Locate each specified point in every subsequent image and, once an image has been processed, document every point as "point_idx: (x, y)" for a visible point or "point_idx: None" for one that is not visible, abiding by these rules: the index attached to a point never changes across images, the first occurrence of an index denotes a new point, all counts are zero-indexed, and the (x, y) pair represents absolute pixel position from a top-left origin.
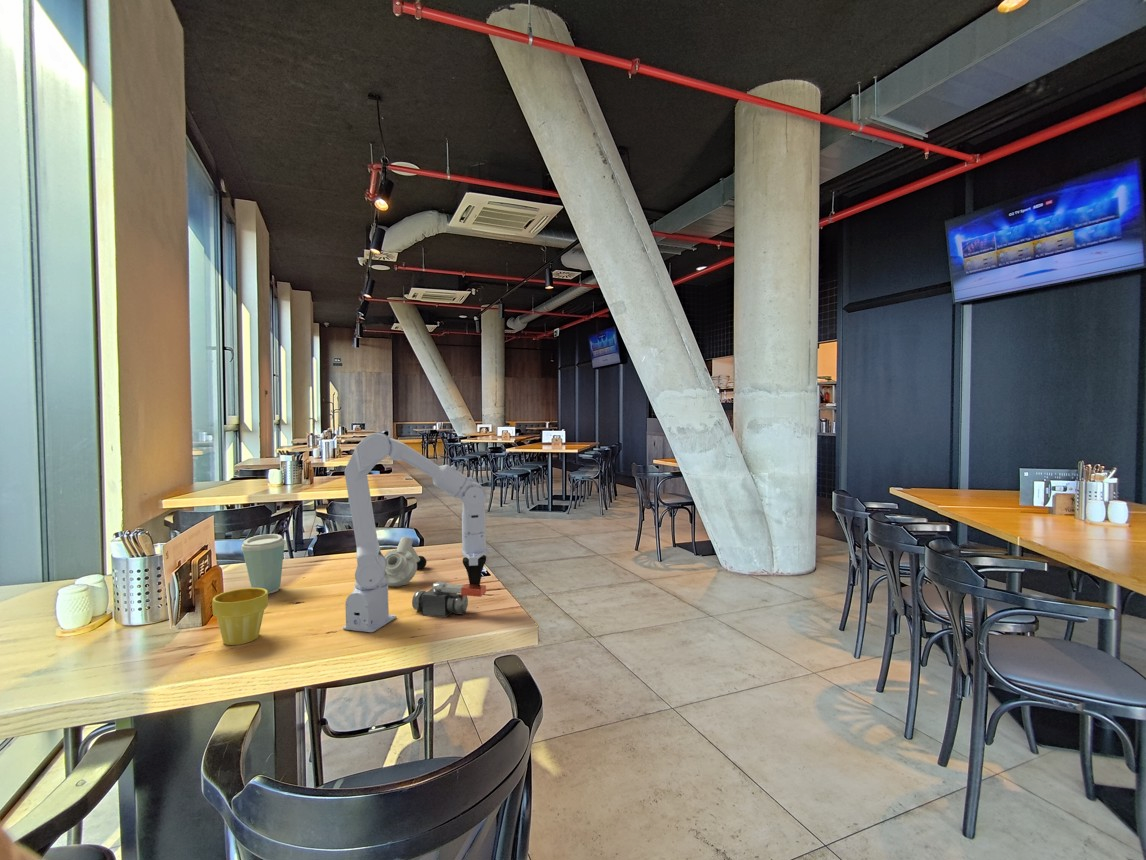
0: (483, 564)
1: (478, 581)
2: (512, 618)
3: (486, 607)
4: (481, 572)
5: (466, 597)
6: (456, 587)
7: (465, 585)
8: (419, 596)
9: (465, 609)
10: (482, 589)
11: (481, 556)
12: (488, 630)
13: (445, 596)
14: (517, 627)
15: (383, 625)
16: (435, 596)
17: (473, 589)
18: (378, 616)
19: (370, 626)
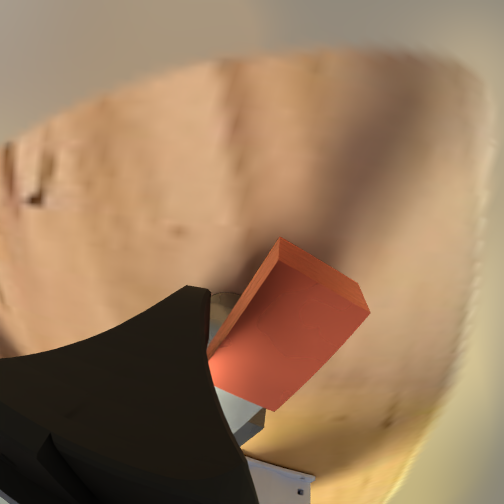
0: (241, 458)
1: (204, 320)
2: (386, 89)
3: (191, 190)
4: (204, 362)
5: (214, 324)
6: (235, 418)
7: (232, 389)
8: None
9: (236, 299)
10: (338, 288)
11: (5, 455)
12: (469, 224)
13: (259, 424)
14: (480, 106)
15: (283, 468)
16: (240, 444)
17: (331, 352)
18: (282, 491)
19: (305, 486)
